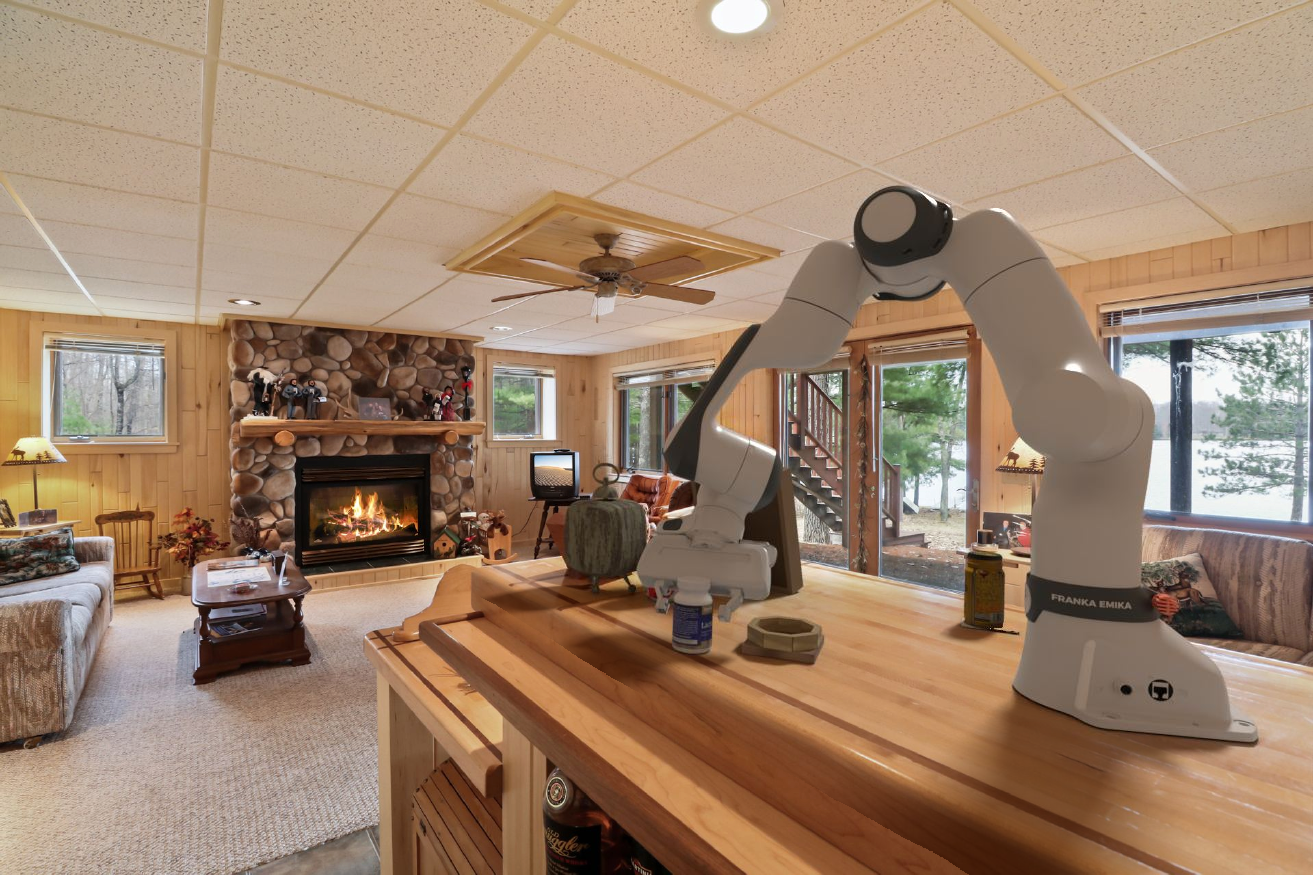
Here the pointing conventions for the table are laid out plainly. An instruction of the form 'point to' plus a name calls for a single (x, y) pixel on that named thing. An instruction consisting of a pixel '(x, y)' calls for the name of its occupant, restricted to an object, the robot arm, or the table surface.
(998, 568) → the condiment
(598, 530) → the tabletop clock
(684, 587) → the pill bottle
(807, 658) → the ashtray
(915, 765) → the table surface
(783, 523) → the photo frame
